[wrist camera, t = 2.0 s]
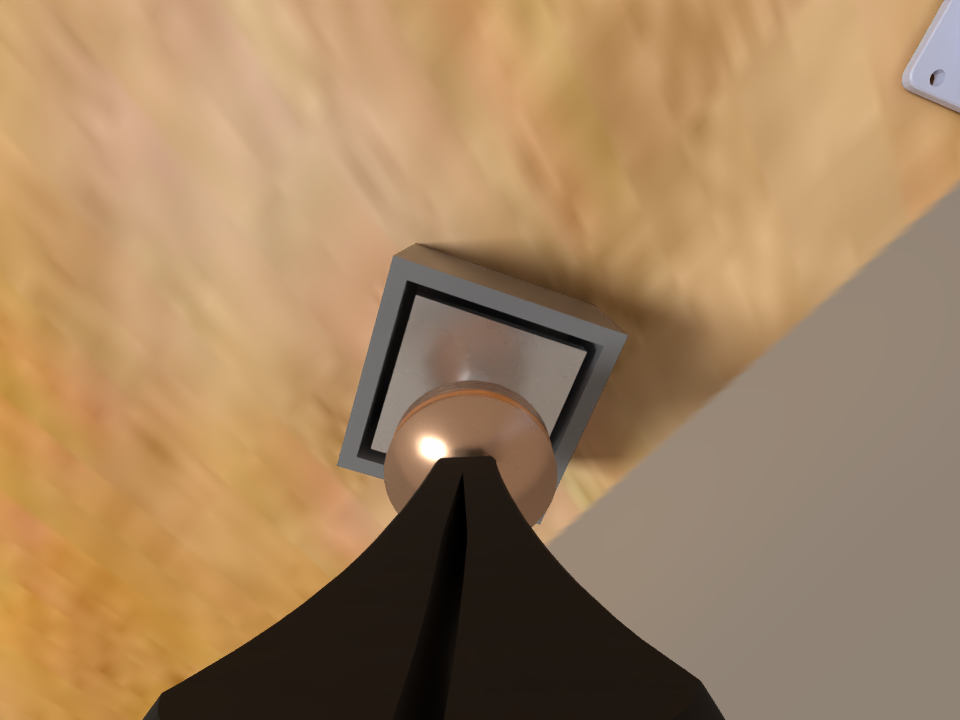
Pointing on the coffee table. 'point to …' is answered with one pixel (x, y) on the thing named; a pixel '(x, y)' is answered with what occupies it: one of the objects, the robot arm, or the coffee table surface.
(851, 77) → the coffee table surface
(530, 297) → the open grey square tray
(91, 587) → the coffee table surface
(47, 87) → the coffee table surface
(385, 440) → the plunger
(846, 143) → the coffee table surface
